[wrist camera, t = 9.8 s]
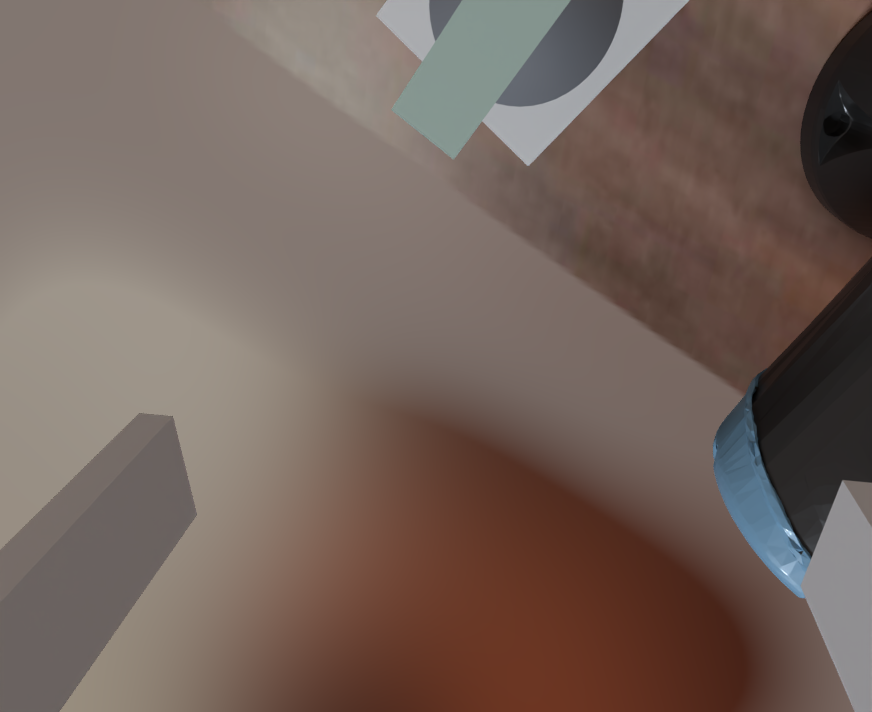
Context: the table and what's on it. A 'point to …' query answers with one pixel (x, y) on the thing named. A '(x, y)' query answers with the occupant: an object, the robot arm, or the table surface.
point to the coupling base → (540, 124)
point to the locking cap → (502, 60)
